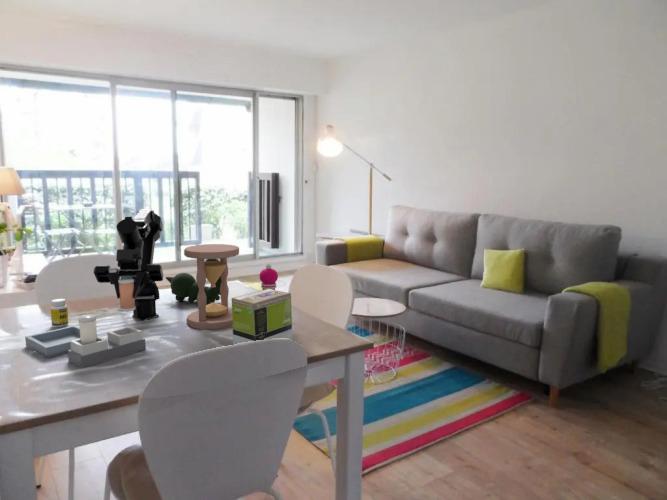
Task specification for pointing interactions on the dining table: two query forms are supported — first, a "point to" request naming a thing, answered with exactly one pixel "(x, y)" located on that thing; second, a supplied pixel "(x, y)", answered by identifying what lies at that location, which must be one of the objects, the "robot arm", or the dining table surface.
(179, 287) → the toy figurine
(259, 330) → the tea box
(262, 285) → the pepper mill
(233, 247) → the hourglass
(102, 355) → the block
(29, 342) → the parts tray
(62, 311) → the supplement bottle
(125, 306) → the marked fuse
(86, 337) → the cylinder
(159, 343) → the dining table surface
